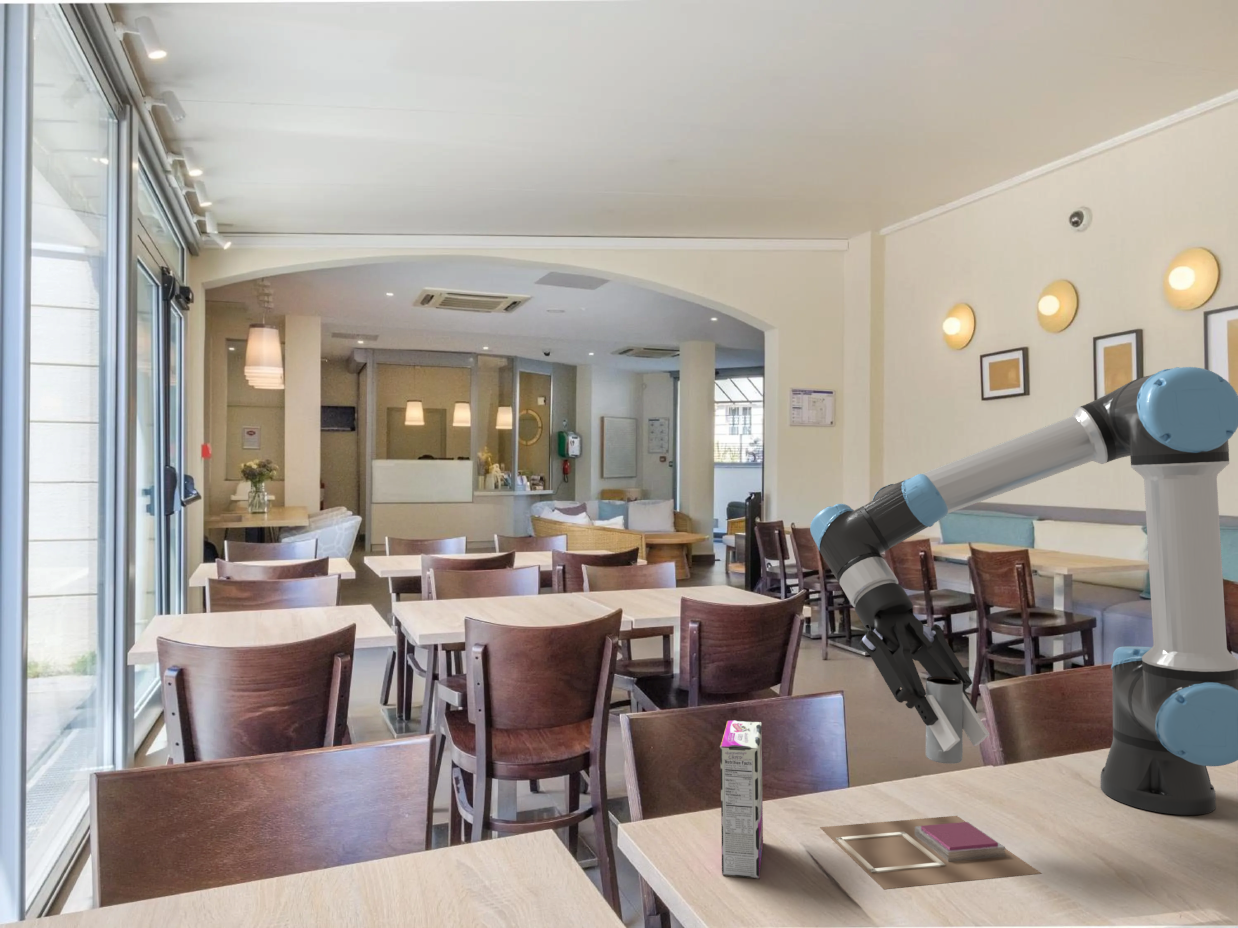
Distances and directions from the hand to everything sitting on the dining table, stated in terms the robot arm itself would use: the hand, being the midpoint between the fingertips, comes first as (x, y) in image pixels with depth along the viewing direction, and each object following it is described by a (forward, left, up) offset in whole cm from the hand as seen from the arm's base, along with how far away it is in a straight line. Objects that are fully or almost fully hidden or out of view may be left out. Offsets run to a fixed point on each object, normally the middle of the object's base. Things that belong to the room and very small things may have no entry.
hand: (966, 742), depth 110 cm
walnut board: (+4, -3, -16) cm, 17 cm away
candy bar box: (+28, -7, -16) cm, 33 cm away
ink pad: (-1, -3, -15) cm, 15 cm away
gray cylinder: (+1, -4, -3) cm, 5 cm away
